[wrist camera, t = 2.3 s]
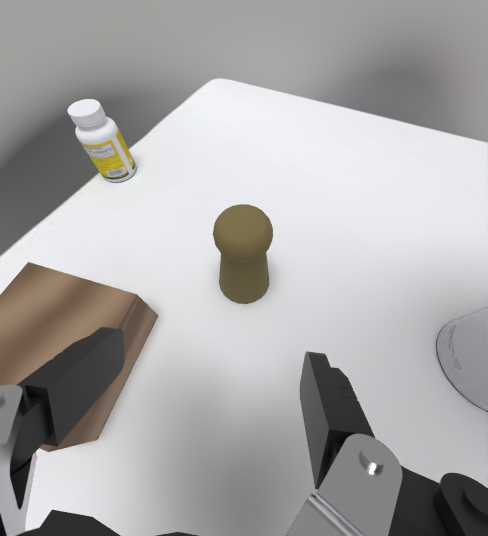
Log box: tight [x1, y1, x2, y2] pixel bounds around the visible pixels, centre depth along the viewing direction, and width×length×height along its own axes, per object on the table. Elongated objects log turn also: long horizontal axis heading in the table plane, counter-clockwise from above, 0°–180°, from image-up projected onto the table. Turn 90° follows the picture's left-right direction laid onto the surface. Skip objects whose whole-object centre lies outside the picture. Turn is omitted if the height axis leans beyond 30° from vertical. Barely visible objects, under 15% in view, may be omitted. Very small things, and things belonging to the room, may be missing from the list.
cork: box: [213, 204, 273, 304], centre depth 24 cm, size 6×6×11 cm
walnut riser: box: [0, 262, 158, 452], centre depth 23 cm, size 12×12×6 cm
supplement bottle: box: [68, 99, 136, 182], centre depth 35 cm, size 5×5×10 cm
